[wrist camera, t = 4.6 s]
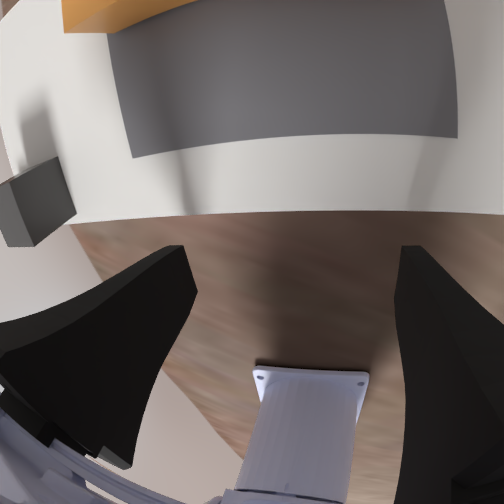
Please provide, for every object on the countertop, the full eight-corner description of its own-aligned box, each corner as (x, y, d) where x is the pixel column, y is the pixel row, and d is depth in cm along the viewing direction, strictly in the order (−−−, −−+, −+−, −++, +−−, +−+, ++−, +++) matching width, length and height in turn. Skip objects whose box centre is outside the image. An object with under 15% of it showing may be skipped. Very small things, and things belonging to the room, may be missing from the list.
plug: (58, 156, 11) (8, 181, 8) (77, 213, 12) (34, 246, 10) (17, 173, 12) (-22, 196, 10) (34, 220, 14) (-2, 247, 11)
